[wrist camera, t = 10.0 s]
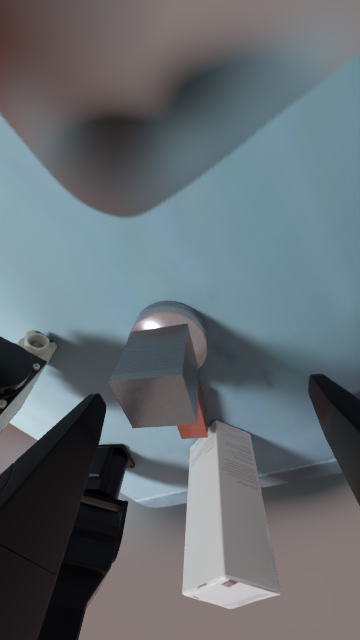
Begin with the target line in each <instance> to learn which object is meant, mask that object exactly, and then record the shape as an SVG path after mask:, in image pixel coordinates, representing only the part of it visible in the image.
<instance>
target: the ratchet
mask: <svg viewBox="0 0 360 640" xmlns="http://www.w3.org/2000/svg"><path fill="white" fill-rule="evenodd" d="M187 323H188V327H189V331H190V335H191V339H192V343H193V347H194V351H195V355H196V359H197V363H198V369H199V368H200V367H201V366H202V364H203V363H204V361H205V359H206V355H207V332H206V326H205V323H204V321H203V319H202V318H201V316H200V315H199V314H198V313H197V312H196V311H195V310H194V309H192V308H191V307H189V306H187V305H185V304H183V303H179V302H174V301H161V302H157V303H154V304H152V305H150V306H148V307H147V308H145V309H144V310H143V311H142V312H141V313H140V315H139V316H138V318H137V320H136V322H135V324H134V326H133V328H132V330H131V332H130V334H129V337H130V335H131V333H132V332H133V331H140V330H146V329H153V328H160V327H167V326H173V325H180V324H187ZM129 337H128V339H129ZM177 427H178V429H179V432H180V435H181V438H182V439H186V438H208V417H207V413H206V409H205V405H204V401H203V397H202V393H201V389H200V385H199V382H198V415H197V424H192V425H177Z"/></svg>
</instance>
